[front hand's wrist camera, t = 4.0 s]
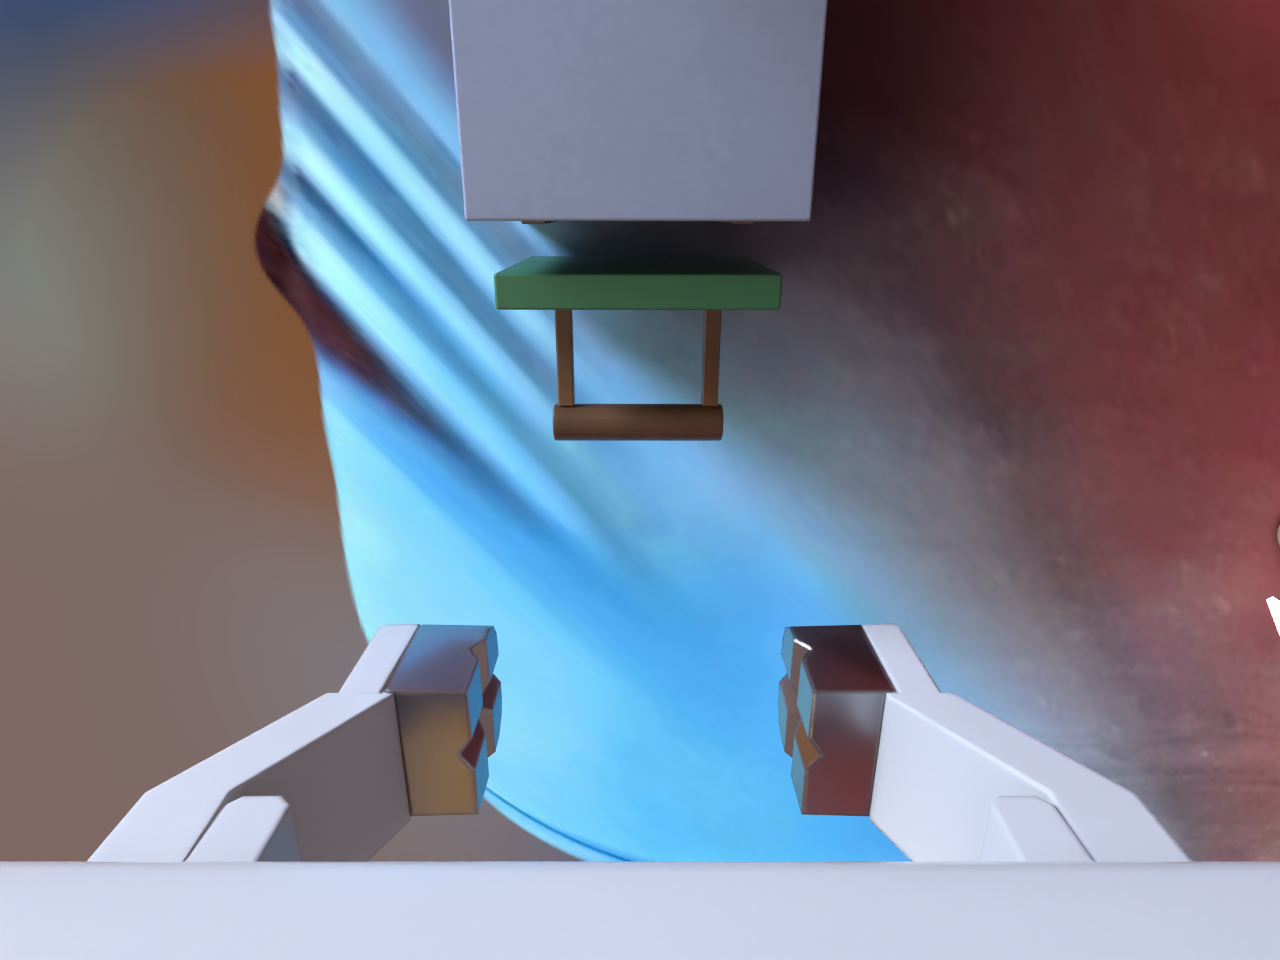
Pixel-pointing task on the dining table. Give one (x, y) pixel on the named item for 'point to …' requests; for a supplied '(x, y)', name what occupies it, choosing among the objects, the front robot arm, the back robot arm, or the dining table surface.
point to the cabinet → (638, 108)
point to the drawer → (637, 289)
